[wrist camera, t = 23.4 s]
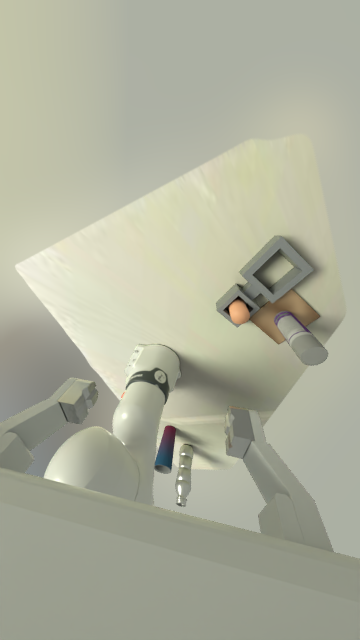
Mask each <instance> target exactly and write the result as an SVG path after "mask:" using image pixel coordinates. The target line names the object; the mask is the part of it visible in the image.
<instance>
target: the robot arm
mask: <svg viewBox="0 0 360 640" xmlns="http://www.w3.org/2000/svg"><path fill="white" fill-rule="evenodd" d="M179 366H180V362H179V358H178V356H177V355H176V354H175V352H174V351H172V350H171V349H170V348H168V347H166V346H163V345H158V344H153V345H137V346H136V348H135V350H134V352H133V354H132V356H131V358H130V360H129V362H128V365H127V367H126V369H125V371H124V372H125V374H126V376H127V379H126V381H125V383H126V385H127V386H126V391H125V392H124V393H123V395H122V396H121V398H122V399H121V401H120V403H119V405H118V407H117V409H116V410H115V413H114V416H113V434H111V433H110V432H108V431H107V430H105V429H104V428H102V427H96V426H95V427H90V428H86V429H84V430H81V431H79V432H78V433H76V434H75V435H73V436H72V437H70V438H69V439H68V440H67V441H66V442H65V443H64V444H63V445H62V446H61V447H60V448H59V449H58V450H57V452H56V453H55V455H54V456H53V458H52V460H51V461H50V463H49V465H48V467H47V470H46V472H45V475H44V478H42V477H38V476H33V475H29V474H26V473H25V472H26V470H27V469H28V468H29V466H30V465H31V464H32V462H33V461H34V457H33V455H32V454H31V453H30V451H31V450H32V449H34V448H35V447H36V446H38V445H39V444H40V443H42V442H43V441H44V440H46V439H47V438H48V437H50V436H51V435H52V434H54V433H55V432H56V431H58V430H59V429H60V428H62V427H63V426H64V425H65V424H67V423H68V422H71V423H76V424H82V423H83V421H84V420H85V418H86V417H87V415H88V413H89V409H90V408H92V407H93V406H94V404H95V403H96V401H97V398H98V391H97V390H96V389H95V387H96V384H95V382H92V381H87V380H82V379H77V378H69V379H68V380H67V381H66V382H65V383H64V384H63V385H62V386H61V387H60V388H59V389H58V390H57V391H56V392H55V393H54V394H53V395H52V396H51V397H50V398H49V400H44V401H42V402H40V403H38V404H36V405H34V406H32V407H30V408H28V409H26V410H24V411H22V412H20V413H18V414H16V415H15V416H13V417H11V418H9V419H7V420H5V421H3V422H1V423H0V640H360V559H359V558H355V557H351V556H347V555H343V554H339V553H335V552H334V551H333V548H332V545H331V543H330V540H329V538H328V535H327V533H326V530H325V527H324V524H323V522H322V519H321V517H320V514H319V511H318V509H317V506H316V503H315V501H314V500H313V498H312V497H311V496H310V494H309V493H308V492H307V491H306V489H305V488H304V487H303V486H302V484H301V483H300V482H299V480H298V479H297V478H296V477H295V476H294V474H293V473H292V472H291V470H290V469H289V468H288V467H287V465H286V464H285V463H284V461H283V460H282V459H281V458H280V457H279V455H278V454H277V453H276V451H275V450H274V449H273V448H272V446H271V445H270V444H267V443H266V439H265V435H264V431H263V428H262V424H261V420H260V416H259V413H258V411H256V410H250V409H246V408H240V407H234V406H229V407H228V414H226V417H225V433H226V435H227V438H226V454H227V455H229V456H233V457H237V458H241V459H243V461H244V463H245V465H246V467H247V468H248V470H249V472H250V474H251V476H252V478H253V480H254V481H255V483H256V485H257V487H258V489H259V490H260V492H261V494H262V496H263V498H264V500H265V502H266V503H267V505H266V506H265V507H264V509H263V510H262V511H261V512H260V513H259V515H258V518H259V524H260V531H261V533H257V532H253V531H249V530H245V529H241V528H237V527H233V526H230V525H226V524H222V523H218V522H214V521H210V520H206V519H202V518H198V517H194V516H190V515H186V514H182V513H179V512H175V511H171V510H166V509H163V508H159V507H155V506H154V498H153V477H154V467H155V454H156V442H157V433H158V428H159V423H160V419H161V415H162V411H163V407H164V405H165V404H166V402H167V399H168V396H169V393H170V392H171V391H173V389H174V386H175V383H176V380H177V379H178V378H180V377H181V371H180V369H179Z"/></svg>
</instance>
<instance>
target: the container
mask: <svg viewBox="0 0 360 640" xmlns="http://www.w3.org/2000/svg"><path fill="white" fill-rule="evenodd" d="M274 323H275V324H276V326H277V327H278V329H279V330H280V332H281V333H282V335H283V336H284V338H285V339H286V341H287V342H288V344H289V345H290V347H291V348H292V349H293V351H294V352H295V353H296V355H297V356H298V357H299V359H300V360H301V361H302V362H303V363H304V364H306V365H318V364H320V363H322V362H324V361H325V360H326V359H327V357H328V352H327V350H326V349H325V348H324V347H323V346H322V344H321V343H320V342H319V341H318V340H317V339H316V338H315V337H314V335H313V334H312V333H311V332H310V331H309V330H308V329H307V328H306V327H305V326H304V325H303V324H302V323H301V322H300V321H299V320H298V319H297V318H296V317H295V316H294V315H293V314H292V313H291V312H289V311H281V312H279V313H278V314H276V316H275V317H274Z"/></svg>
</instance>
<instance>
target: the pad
mask: <svg viewBox="0 0 360 640" xmlns="http://www.w3.org/2000/svg"><path fill="white" fill-rule="evenodd" d="M281 311H289V312H291V313H292V314H293V315H294V316H295V317H296V318H297V319H298V320H299V321H300V322H301V323H302V324H303V325H304V326H305V327H306V326H307V325H309V324H310V323H312V322H313V321H315V320H316V319H318V318H319V317H320V316H319V315H318V314H317V313H316V312H315V311H314V310H313V309H312V308H311V307H310V306H309V305H308V304H307V303H306V302H305V301H304V300H303V299H302V298H301V297H300V296H299V295H298V294H296V293H295V292H294V291H293V290H292V289H290V290H289V291H287V292H286V293H285V294H284V295H282V296H281V297H280V298H279V299H278V300H276V301H275V302H274V303H273V304H272V303H271V302H270V301H268V302H267V303H266V304H265V305H263V306H262V307H261V308H260V309H259V310H258V311H257V312H256V313H254V314H253V315H252V316H251V317H250V318H249V320H251V321H252V322H253V323H254V324H255V325H256V326H258V327H259V328H260V329H261V330H262V331H263V332H265V333H266V334H267V335H268V336H269V337H270V338H272V339H273V340H274V341H275V342H276V343H278V344H280V343H282V342H283V341H285V340H286V339H285V338H284V336H283V335H282V333H281V332H280V330H279V329H278V327H277V326H276V324H275V323H274V317H275V316H276V314H278V313H279V312H281Z"/></svg>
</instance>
